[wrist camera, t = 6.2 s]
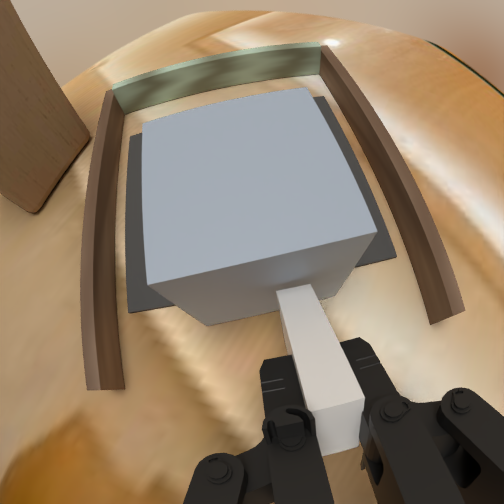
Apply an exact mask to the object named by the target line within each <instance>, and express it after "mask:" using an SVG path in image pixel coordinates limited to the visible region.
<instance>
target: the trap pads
mask: <svg viewBox="0 0 504 504" xmlns="http://www.w3.org/2000/svg"><path fill="white" fill-rule="evenodd" d="M313 99H314V101H315V102H316V104H317V106H318V108H319V110H320V111H321V113H322V115H323V117H324V119H325V120H326V122H327V124H328V126H329V128H330V130H331V132H332V134H333V135H334V137H335V139H336V141H337V143H338V145H339V147H340V149H341V151H342V153H343V155H344V157H345V159H346V161H347V163H348V165H349V167H350V170H351V172H352V174H353V176H354V178H355V180H356V182H357V185H358V187H359V189H360V191H361V193H362V196H363V198H364V200H365V203H366V205H367V207H368V210H369V212H370V214H371V217H372V219H373V221H374V224H375V226H376V229H377V231H378V232H377V233H376V235H375V236H374V238H373V239H372V241H371V243H370V244H369V246H368V247H367V249H366V250H365V252H364V253H363V255H362V257H361V258H360V260H359V261H358V263H357V264H356V266H355V267H359V266H363V265H367V264H372V263H376V262H380V261H384V260H388V259H392V258H396V257H397V255H396V252H395V249H394V246H393V243H392V241H391V238H390V235H389V233H388V230H387V228H386V225H385V222H384V220H383V217H382V215H381V213H380V210H379V208H378V205H377V203H376V200H375V198H374V196H373V193H372V191H371V189H370V187H369V184H368V182H367V180H366V178H365V175H364V173H363V171H362V169H361V167H360V165H359V163H358V160H357V158H356V156H355V154H354V152H353V150H352V148H351V146H350V144H349V142H348V140H347V138H346V136H345V134H344V132H343V130H342V128H341V127H340V125H339V123H338V121H337V119H336V117H335V115H334V114H333V112H332V110H331V108H330V106H329V104H328V103H327V101H326V99H325V97H324V96H321V97H313ZM125 256H126V285H127V302H128V313H134V312H140V311H146V310H152V309H158V308H163V307H169V306H174V305H175V304H173V303H172V302H170V301H169V300H168V299H166V298H165V297H163V296H162V295H161V294H159V293H158V292H156V291H155V290H154V289H152V288H151V287H149V286H148V285H147V276H146V264H145V251H144V235H143V213H142V133H139V134H136V135H133V136H130V142H129V153H128V167H127V184H126V212H125ZM355 267H354V268H355Z"/></svg>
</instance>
